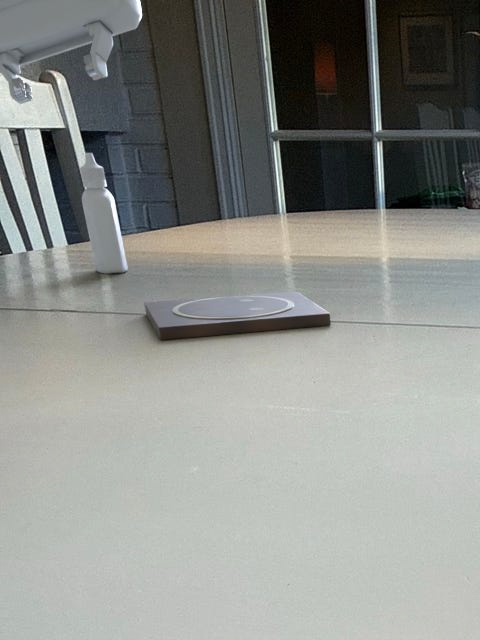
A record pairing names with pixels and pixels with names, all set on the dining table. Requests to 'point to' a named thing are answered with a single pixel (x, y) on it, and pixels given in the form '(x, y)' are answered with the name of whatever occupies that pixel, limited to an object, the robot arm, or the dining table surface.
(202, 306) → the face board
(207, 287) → the dining table surface
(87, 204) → the eye dropper bottle
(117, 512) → the dining table surface
